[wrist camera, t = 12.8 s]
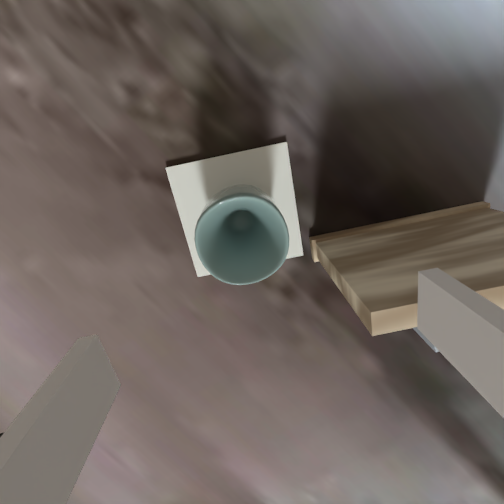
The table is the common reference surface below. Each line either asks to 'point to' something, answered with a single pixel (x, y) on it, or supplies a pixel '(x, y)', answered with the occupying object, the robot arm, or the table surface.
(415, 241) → the wooden board
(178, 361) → the table surface
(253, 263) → the cup
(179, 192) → the pad
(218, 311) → the table surface
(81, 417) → the robot arm
